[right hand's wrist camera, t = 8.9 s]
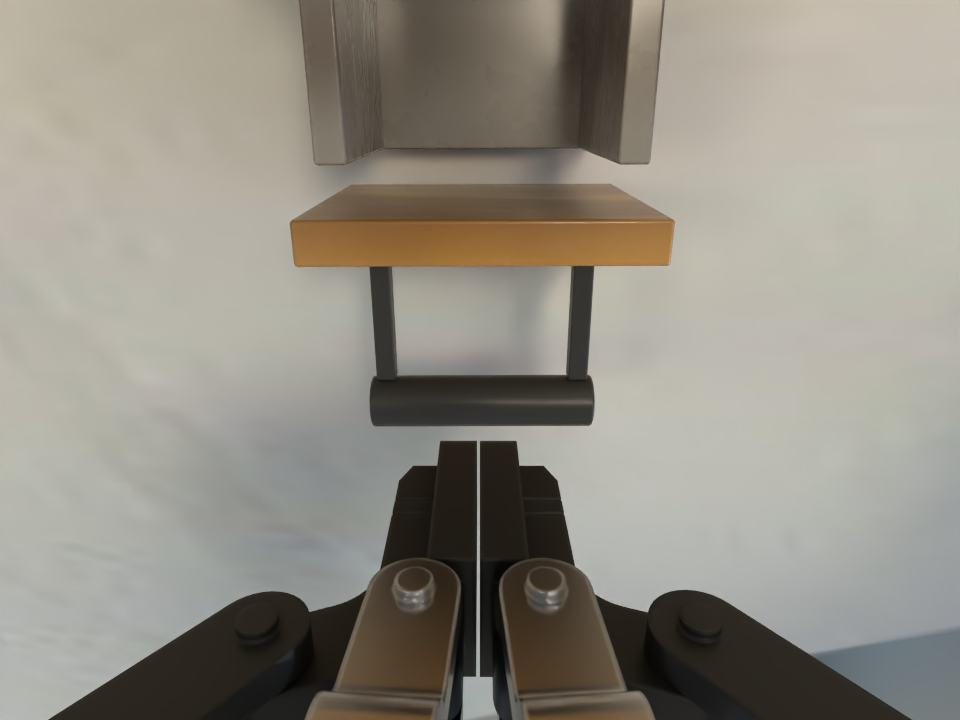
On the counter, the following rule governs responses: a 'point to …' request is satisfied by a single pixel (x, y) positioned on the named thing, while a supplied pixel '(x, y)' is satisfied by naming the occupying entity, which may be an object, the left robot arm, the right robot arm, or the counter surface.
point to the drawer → (481, 207)
